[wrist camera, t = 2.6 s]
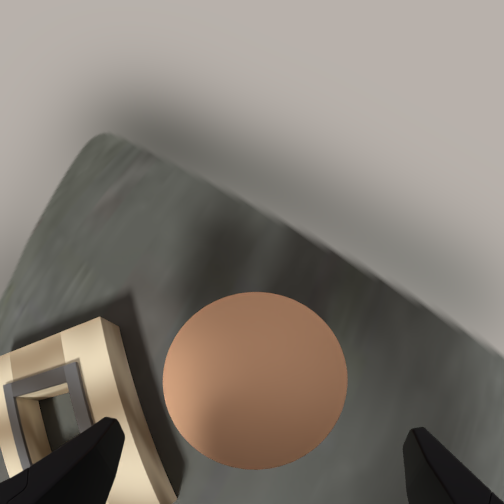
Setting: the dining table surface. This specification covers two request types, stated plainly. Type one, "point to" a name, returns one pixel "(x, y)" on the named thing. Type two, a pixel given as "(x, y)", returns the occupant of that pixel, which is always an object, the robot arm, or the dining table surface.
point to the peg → (255, 380)
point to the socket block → (80, 405)
